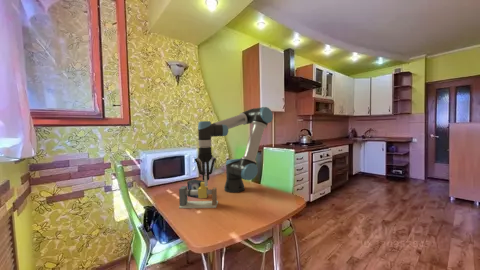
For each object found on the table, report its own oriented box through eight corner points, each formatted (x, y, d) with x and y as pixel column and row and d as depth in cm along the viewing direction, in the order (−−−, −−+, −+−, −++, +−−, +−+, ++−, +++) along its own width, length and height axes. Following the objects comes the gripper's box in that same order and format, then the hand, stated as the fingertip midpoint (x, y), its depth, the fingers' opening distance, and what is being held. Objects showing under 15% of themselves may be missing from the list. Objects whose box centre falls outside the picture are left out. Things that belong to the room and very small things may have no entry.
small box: (187, 196, 141) (186, 181, 140) (193, 193, 146) (192, 179, 146) (199, 198, 136) (198, 183, 135) (205, 195, 141) (204, 180, 141)
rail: (218, 202, 128) (217, 184, 128) (216, 207, 119) (215, 189, 119) (183, 202, 129) (182, 185, 128) (178, 208, 120) (178, 189, 119)
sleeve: (208, 194, 126) (207, 181, 126) (206, 198, 121) (206, 183, 120) (200, 195, 126) (199, 181, 126) (198, 198, 121) (197, 183, 121)
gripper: (216, 146, 126) (217, 183, 127) (195, 146, 126) (196, 184, 127) (214, 147, 118) (216, 187, 119) (192, 147, 119) (193, 187, 119)
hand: (206, 185), depth 123 cm, fingers closed
